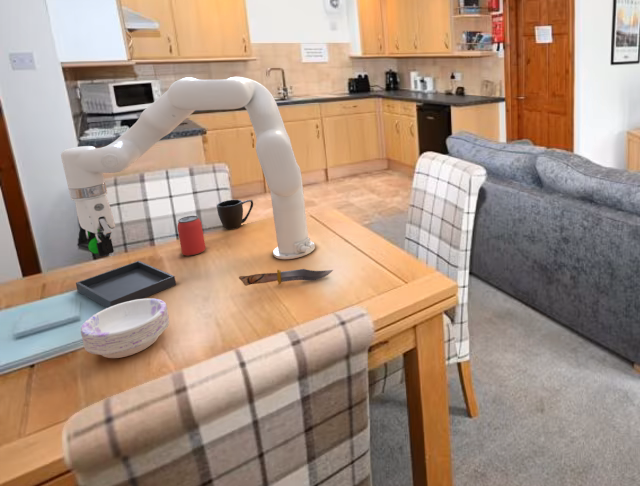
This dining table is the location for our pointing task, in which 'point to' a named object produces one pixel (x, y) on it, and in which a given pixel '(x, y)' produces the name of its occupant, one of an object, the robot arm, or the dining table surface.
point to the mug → (232, 213)
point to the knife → (284, 276)
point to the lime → (93, 246)
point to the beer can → (191, 235)
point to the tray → (125, 284)
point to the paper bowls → (125, 328)
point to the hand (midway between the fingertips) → (101, 251)
